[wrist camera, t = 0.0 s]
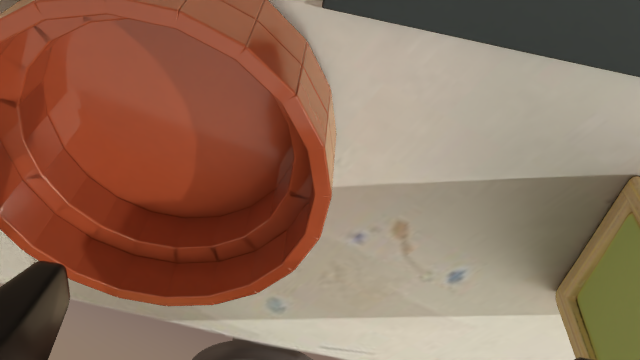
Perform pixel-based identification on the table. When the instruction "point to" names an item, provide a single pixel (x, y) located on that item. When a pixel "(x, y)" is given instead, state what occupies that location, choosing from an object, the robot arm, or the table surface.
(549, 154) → the table surface
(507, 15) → the mat
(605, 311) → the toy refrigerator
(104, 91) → the bowl
